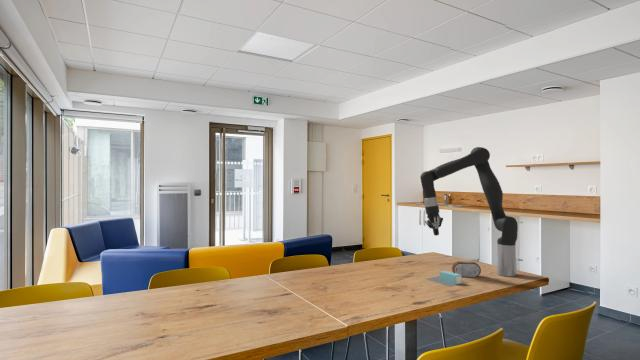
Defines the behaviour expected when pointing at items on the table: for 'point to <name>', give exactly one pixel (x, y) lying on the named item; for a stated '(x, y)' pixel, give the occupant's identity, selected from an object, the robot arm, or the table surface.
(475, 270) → the tin
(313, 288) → the table surface
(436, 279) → the mat
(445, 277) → the block
